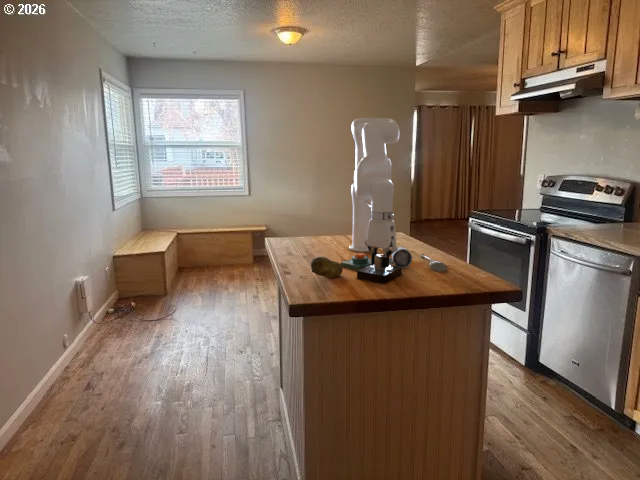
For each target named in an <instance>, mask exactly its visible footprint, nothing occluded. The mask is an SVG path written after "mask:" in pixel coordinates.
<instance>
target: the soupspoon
mask: <svg viewBox="0 0 640 480" xmlns="http://www.w3.org/2000/svg"><path fill="white" fill-rule="evenodd" d="M420 258H422V259H424V258H425V259H427V260H429V261H430V263H428V266H429V267H430V269H432V270H433V271H436V272H438V273H439V272H440V273H441V272H442V273H443V272H446V271H447V270H448V266H447V264H445V263H443V261H437V260H435V261H434V260H433V259H432V258H430V257H429V256H426V255H425V253H422V254H420Z"/></svg>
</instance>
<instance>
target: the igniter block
mask: <svg viewBox="0 0 640 480" xmlns="http://www.w3.org/2000/svg"><path fill="white" fill-rule="evenodd" d="M355 257H356V255H352V256H351V259H347V260H342V261H340V264H341V265H342V267H343V268H347V269H350V270H354V271H358V270H360V269H363V268H365V267H367V266H369V265H371V258H369V256H367V255H365V258H363V259H358V258H355Z"/></svg>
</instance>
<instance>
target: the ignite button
mask: <svg viewBox="0 0 640 480" xmlns="http://www.w3.org/2000/svg"><path fill="white" fill-rule="evenodd" d="M365 254H366V253H365V252H357V253H355V256H356V257H355V258H358V259H363V258H365V256H366V255H365Z"/></svg>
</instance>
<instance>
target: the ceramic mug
mask: <svg viewBox="0 0 640 480" xmlns="http://www.w3.org/2000/svg"><path fill="white" fill-rule="evenodd" d="M397 249H398V250H397V251H395V252H393V253H392V254H391V256H390V257H389V265H392V266H398V267H402V269H407V268H409V266H411V264H412V262H413V255H412V252H410V250H409V249H407V248H406V247H404V246H399V247H398V246H397Z"/></svg>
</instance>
